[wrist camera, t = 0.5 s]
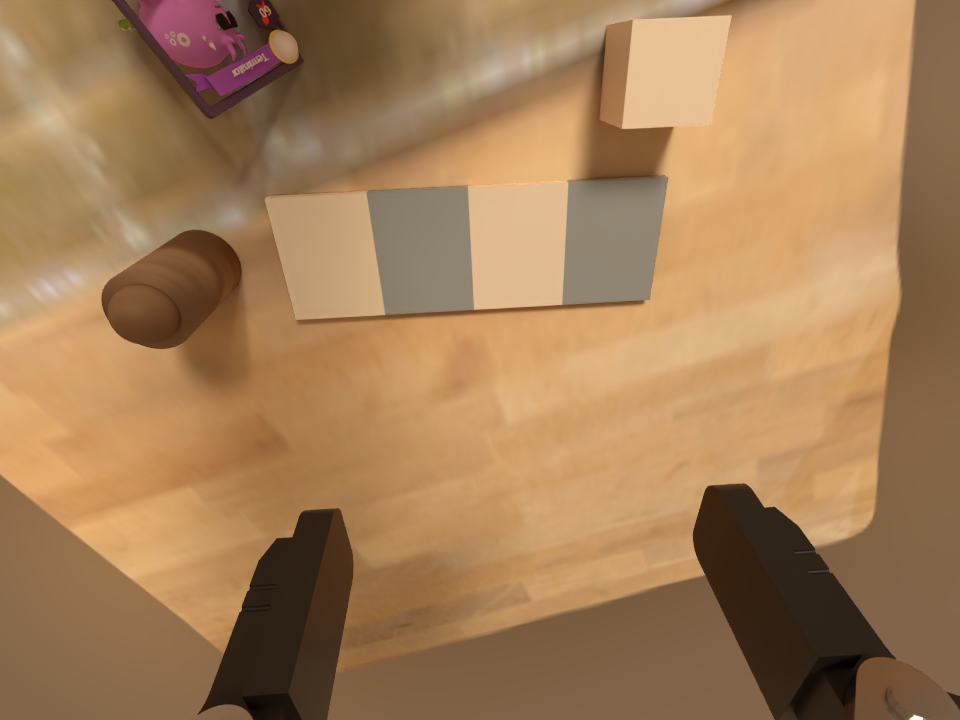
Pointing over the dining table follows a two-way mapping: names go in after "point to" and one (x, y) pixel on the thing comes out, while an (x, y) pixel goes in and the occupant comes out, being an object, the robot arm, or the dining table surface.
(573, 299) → the board
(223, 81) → the game card
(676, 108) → the cube
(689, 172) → the dining table surface
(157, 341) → the brown cylinder
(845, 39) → the dining table surface
